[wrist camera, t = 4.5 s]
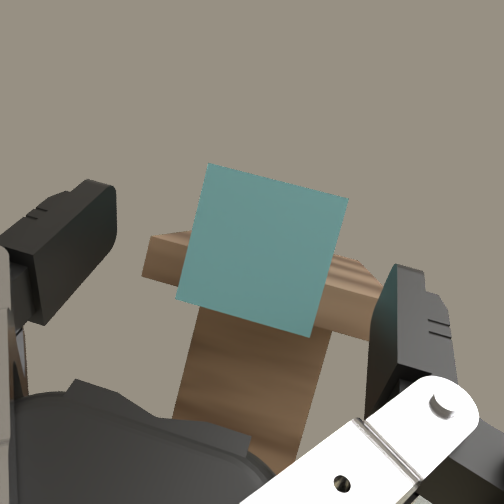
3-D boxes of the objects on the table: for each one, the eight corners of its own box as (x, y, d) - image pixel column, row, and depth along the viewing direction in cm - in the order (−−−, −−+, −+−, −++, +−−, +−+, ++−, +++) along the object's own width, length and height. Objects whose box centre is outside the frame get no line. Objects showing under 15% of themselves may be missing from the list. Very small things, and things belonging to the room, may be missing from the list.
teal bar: (309, 338, 11) (348, 198, 11) (175, 299, 12) (208, 163, 11) (311, 251, 37) (323, 209, 37) (269, 240, 37) (280, 198, 37)
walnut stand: (263, 899, 24) (446, 317, 21) (-14, 782, 26) (111, 225, 22) (285, 591, 44) (380, 266, 40) (127, 536, 46) (205, 219, 42)
